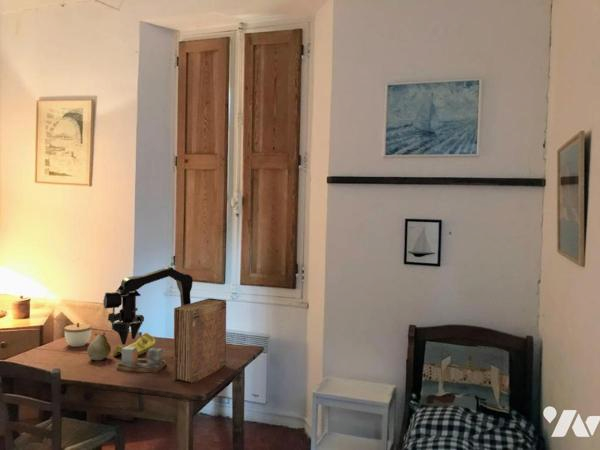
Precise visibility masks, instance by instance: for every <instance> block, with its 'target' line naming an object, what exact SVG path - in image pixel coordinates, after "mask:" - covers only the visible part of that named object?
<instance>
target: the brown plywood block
mask: <svg viewBox="0 0 600 450" xmlns="http://www.w3.org/2000/svg"><path fill="white" fill-rule="evenodd" d="M226 342H227V300H226V299H217V298H205V299H202V300H198V301H194V302H191V303H190V304H187V305H183V306H181V305H180V306H176V307H174V310H173V371H172V372H173V373H172V374H173V378H172V379H173V381H176V380H178V381H184V382H189V383H190V384H194V383H196V382H199V381H200V380H202V379H204V378H206V377H208V376H210V375H212V374H214V373H216V372H217V371H219V370H222V369H223V368H225V367H226V365H227V364H226V361H227V360H226V356H227V355H226V354H227V353H226V351H227V348H226V347H227V346H226V344H227V343H226Z"/></svg>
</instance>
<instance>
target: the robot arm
mask: <svg viewBox="0 0 600 450" xmlns="http://www.w3.org/2000/svg"><path fill="white" fill-rule="evenodd" d="M169 277H170V278H171V279H173V280H175V281H176V282H175V283H176V286H177V289H178V291H179V294H180V295H179V296H180V297H179V298H180V306H183V305H187V304H190V303H192V301H191V291H192V288H193V283H194V282H193V281H194V279H193V277H192V276H191V275H190V274H189V273H185V272H180V271H178V270H176V269H175V268H173V267H171V266H166V267H164V268H162V269H158V270H154V271H152V272H148V273H146V274H142V275H135V276H134V275H133V276H127V277H124V278H123V279H122V280H121V282H120V283H121V284H120V286H119V287H118V288H117V290H116V291H115V292H109V291H107V292H105V293H104V296H103V301H102V302H103V307H104V309H105V310H106V309H107V310H108V309H116V308H120V307H121V308H120V309H119V312H117V313H114V312H112V313H109V314H108V316H107V317H108V318H107V321H109V322H110V323H111V324H112V323H113V324H112V330H113V331H114V332H116V333H117V334H118V336H119V338H120V341H121V344H122V345H123V346H125V345H126V343H127V340H128V337H129V333H130V335H131V339H132V340H135V339H136V336H137V335H138V333H139V330H140V328H141V327H142V325H143V323H144V321H145V317H144V315H143V314H136V313H137V311H139V310H138V309H139V308H138V307H136V306H137V304H136V303H137V297H141V295H142V294H141V293H139V291H138V290H140V289H141V288H142V287H143V286H145V285H147V284H151V283H154V282H156V281H159V280H162V279H165V278H169Z"/></svg>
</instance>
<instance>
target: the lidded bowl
mask: <svg viewBox="0 0 600 450" xmlns="http://www.w3.org/2000/svg"><path fill="white" fill-rule="evenodd" d="M63 329H64V339H65V341H66V342H67V344H68V345H70V347H78V348H79V347H82V346H85V345H87V343H88V342H89V341H90V339H91V336H92V325H91V324H88V323H80V322H76V323H75V324H69V325H66V326H64V328H63Z"/></svg>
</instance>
